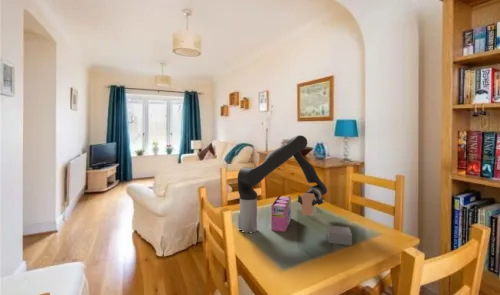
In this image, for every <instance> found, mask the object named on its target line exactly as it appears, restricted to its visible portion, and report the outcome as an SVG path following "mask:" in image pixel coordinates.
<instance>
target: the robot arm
mask: <svg viewBox="0 0 500 295" xmlns="http://www.w3.org/2000/svg"><path fill="white" fill-rule="evenodd" d="M307 146H308V140H307V137H305V135H296V136H294V137H292V138H289V139H288V141H287V144H285V145H283V146H280V147H278V148H276V149H274V150H273V151H271V152H269V153H268V154H267V155H266V157H264V160H263V162H261V164H259V165H258V166H256V167H254V168H253V167H248V166H246V167H245V166H244V167H242V168H240V169H239V171H238V173H237V191H238V192H237V193H238V194H239V211H238V213H237V216H238V217H237V219H238V221H237V222H238V223H237V226H238V227H237V228H239V229H241V230H242V231H244V232H254V233H257V231H258V193H257V191H256V190H255V189H254V187H255V186H257V185H258V184H259V183H261V182H262V181H263V180H264V179H265V178H266V177H267V176H268V175H269V174H271V173H272V172H274V171H275V170H276V169H277V168H279V167H281V166H282V165H283V164H285V163H286V162H287V161H288V160H290V159H291V158H292V157H293V158H294V159H295V161H296V162H297V164H298V165H299V167H300V168H301V170H302V173H303V175H304V178H305V179H306V181H307V183H309V184H314V185H312V186H310V187H309V189H308V190H307V191H306V193H312V194H314V200H313V201H312V206H314V207H315V206H316V205H319V206H320V205H322V204H324V203H325V198H324V197H322V196H324V195H326V194H327V192H328V188H327V186H326V185H325V184H324V183H323V181H322V180H321V179H320V177H319V176H318V174H317V172H316V169H315V167H314V166H313V165H312V164H311V163H310V162H309V161H308V160H307V159H306V157H304V156H303V154H302V151H303V150H305V149H306V148H307ZM297 202H298V203H299V204H300V205H301V206H302V195H301V194H300V195H299V194H298V195H297Z"/></svg>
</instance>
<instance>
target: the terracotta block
mask: <svg viewBox="0 0 500 295" xmlns="http://www.w3.org/2000/svg"><path fill="white" fill-rule="evenodd" d="M301 197H302V205H301V215H302V216H303V215H304V216H309V217H310V216H311V217H312V216H313V215H314V213H315V205H314V206H312V201H313V200H314V194H312V193H307V192H303V193H302V194H301Z"/></svg>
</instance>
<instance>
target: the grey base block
mask: <svg viewBox="0 0 500 295" xmlns="http://www.w3.org/2000/svg"><path fill="white" fill-rule="evenodd" d="M327 229H328V231H327V236H328V243H329V244H337V245H346V246H353V235H352V231H351V228H350V227H349V226H337V225H328V227H327Z"/></svg>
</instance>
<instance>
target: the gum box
mask: <svg viewBox="0 0 500 295" xmlns="http://www.w3.org/2000/svg"><path fill="white" fill-rule="evenodd" d="M291 197H292V196H288V197H287V196H282V195H278V196H277V197H276V199H275V200H274V201H273V203H272V204H271V215H270V216H271V222H270V224H271V227H270V228H271V231H276V232H284V233H285V232H287V229H288V227H289V224H290V222H291V219H292V204H291V203H292V200H291Z"/></svg>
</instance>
